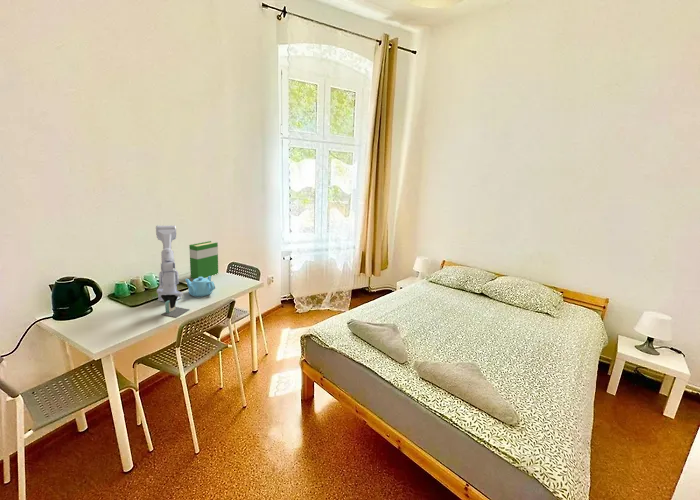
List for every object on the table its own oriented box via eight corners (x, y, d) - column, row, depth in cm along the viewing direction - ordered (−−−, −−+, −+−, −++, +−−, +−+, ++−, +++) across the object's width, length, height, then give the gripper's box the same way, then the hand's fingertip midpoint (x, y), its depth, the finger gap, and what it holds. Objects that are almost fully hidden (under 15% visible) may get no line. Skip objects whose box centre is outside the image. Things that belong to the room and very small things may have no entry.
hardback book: (211, 271, 237) (210, 241, 231) (218, 273, 234) (217, 242, 228) (190, 277, 221) (189, 244, 216) (198, 280, 218) (196, 246, 213)
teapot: (188, 299, 186) (188, 282, 184) (185, 291, 198) (184, 274, 196) (216, 295, 195) (215, 279, 192) (211, 287, 207) (210, 272, 204)
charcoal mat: (161, 314, 165) (161, 314, 165) (175, 307, 174) (175, 306, 174) (176, 317, 163) (176, 316, 163) (189, 310, 173) (189, 309, 173)
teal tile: (165, 312, 167) (165, 302, 166) (172, 308, 172) (172, 298, 170) (169, 313, 167) (168, 302, 165) (175, 309, 171) (175, 299, 170)
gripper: (151, 283, 163) (153, 307, 166) (175, 287, 160) (177, 312, 164) (161, 279, 170) (163, 302, 173) (185, 283, 167) (186, 306, 170)
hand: (170, 307), depth 169 cm, fingers closed on teal tile, 2 cm apart
